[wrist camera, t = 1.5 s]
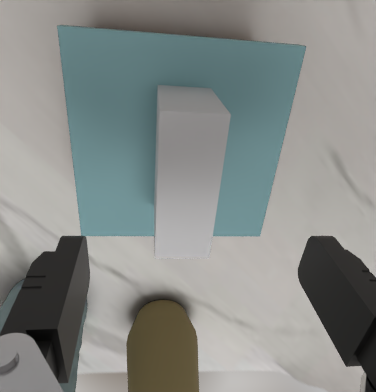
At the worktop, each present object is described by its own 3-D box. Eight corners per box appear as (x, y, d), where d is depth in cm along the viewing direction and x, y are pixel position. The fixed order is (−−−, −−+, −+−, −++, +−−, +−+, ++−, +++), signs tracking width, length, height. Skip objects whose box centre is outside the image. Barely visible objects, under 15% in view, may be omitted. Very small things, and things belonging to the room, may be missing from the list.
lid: (293, 43, 19) (360, 59, 13) (253, 222, 25) (285, 288, 19) (65, 24, 17) (19, 32, 11) (85, 221, 23) (63, 293, 17)
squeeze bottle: (161, 343, 42) (167, 537, 26) (114, 317, 38) (90, 523, 23) (206, 311, 40) (242, 504, 24) (161, 281, 36) (168, 483, 21)
